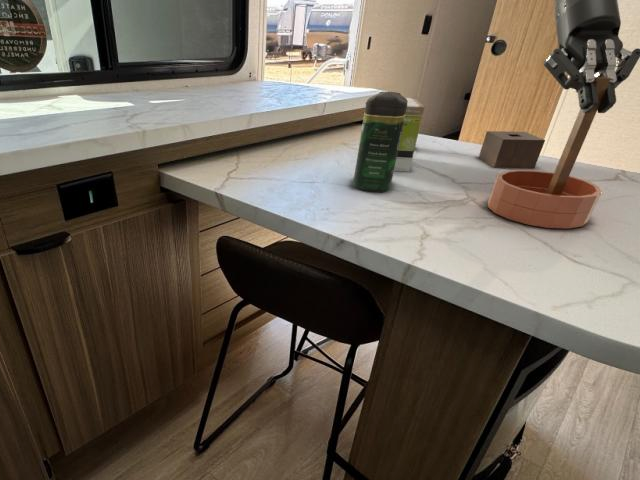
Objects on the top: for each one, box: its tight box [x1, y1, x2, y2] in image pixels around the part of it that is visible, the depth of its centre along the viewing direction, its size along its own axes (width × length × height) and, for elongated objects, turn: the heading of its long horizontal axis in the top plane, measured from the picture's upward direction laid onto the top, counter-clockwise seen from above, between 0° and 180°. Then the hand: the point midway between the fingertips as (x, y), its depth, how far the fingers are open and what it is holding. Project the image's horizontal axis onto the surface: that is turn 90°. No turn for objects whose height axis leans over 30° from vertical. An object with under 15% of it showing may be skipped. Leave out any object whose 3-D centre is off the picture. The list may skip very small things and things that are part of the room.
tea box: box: [394, 97, 425, 172], centre depth 101 cm, size 15×10×15 cm
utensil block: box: [478, 130, 546, 170], centre depth 103 cm, size 10×10×7 cm
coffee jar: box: [352, 91, 407, 193], centre depth 85 cm, size 10×8×19 cm
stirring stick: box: [546, 77, 611, 196], centre depth 67 cm, size 2×2×20 cm
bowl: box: [487, 169, 603, 230], centre depth 75 cm, size 16×16×6 cm
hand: (598, 109), depth 62 cm, fingers closed on stirring stick, 1 cm apart
